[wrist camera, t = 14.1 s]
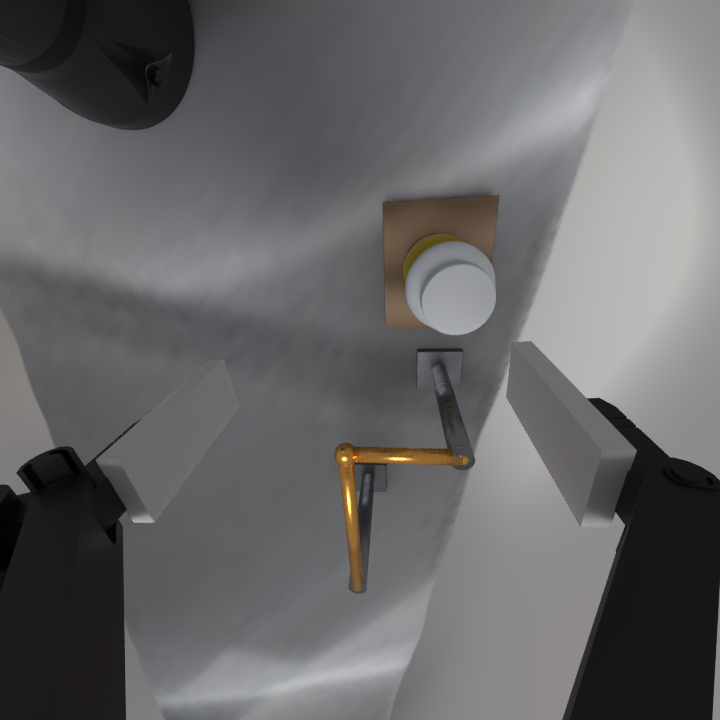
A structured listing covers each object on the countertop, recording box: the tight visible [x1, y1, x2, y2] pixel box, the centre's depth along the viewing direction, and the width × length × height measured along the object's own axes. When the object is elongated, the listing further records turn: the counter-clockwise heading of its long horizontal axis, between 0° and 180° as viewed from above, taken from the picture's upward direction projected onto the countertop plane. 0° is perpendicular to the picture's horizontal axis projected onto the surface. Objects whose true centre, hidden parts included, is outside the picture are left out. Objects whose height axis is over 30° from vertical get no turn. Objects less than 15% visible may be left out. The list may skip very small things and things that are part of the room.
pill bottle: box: [402, 233, 496, 335], centre depth 26 cm, size 6×6×12 cm
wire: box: [334, 349, 475, 593], centre depth 35 cm, size 22×14×16 cm, turn 3°
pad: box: [383, 195, 499, 329], centre depth 32 cm, size 12×10×2 cm
